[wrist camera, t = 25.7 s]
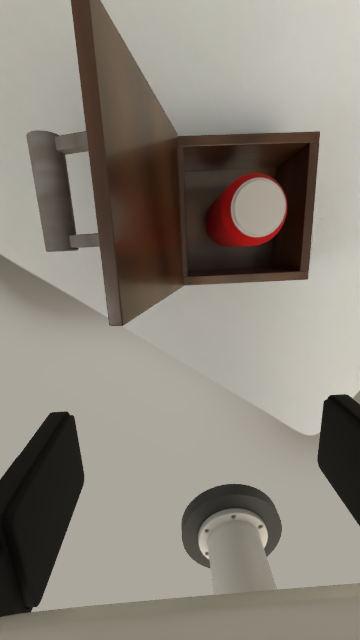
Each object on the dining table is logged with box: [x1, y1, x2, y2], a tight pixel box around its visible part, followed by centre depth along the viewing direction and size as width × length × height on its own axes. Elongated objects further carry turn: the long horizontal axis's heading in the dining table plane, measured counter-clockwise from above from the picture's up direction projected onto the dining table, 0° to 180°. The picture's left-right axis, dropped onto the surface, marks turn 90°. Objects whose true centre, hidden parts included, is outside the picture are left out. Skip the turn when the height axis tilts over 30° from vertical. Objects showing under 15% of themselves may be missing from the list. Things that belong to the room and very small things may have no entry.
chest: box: [177, 132, 320, 285], centre depth 30 cm, size 14×14×9 cm
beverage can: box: [206, 173, 287, 247], centre depth 28 cm, size 6×6×12 cm
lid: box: [27, 0, 183, 326], centre depth 19 cm, size 15×14×6 cm
